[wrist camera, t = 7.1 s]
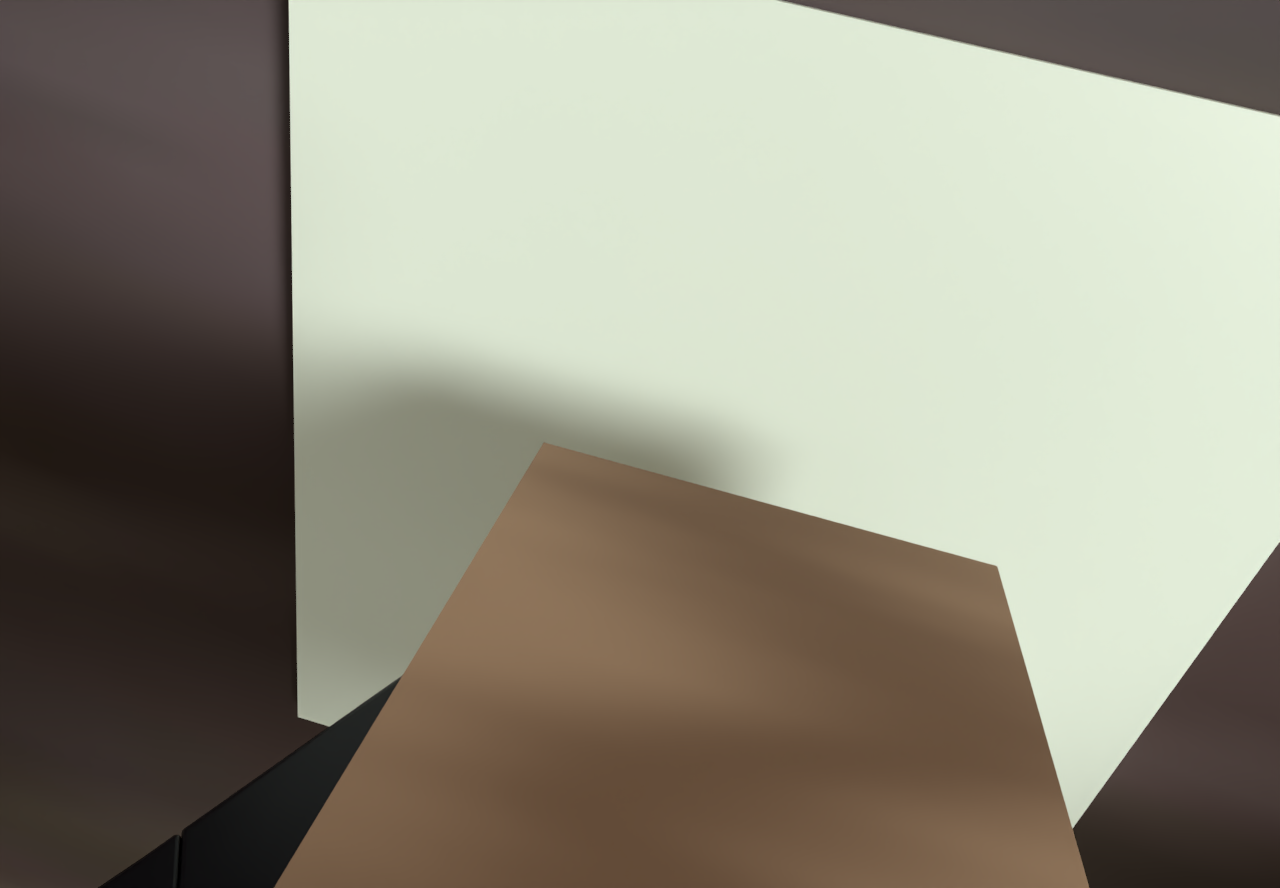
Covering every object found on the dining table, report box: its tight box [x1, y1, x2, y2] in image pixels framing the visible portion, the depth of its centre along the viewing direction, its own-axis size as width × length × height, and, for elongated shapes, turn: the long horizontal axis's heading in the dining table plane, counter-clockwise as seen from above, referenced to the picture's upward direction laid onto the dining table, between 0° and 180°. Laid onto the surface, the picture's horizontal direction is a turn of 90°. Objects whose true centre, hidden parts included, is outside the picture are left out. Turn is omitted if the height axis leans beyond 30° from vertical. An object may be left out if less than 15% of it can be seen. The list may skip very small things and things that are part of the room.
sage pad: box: [289, 0, 1280, 829], centre depth 13 cm, size 14×14×1 cm
